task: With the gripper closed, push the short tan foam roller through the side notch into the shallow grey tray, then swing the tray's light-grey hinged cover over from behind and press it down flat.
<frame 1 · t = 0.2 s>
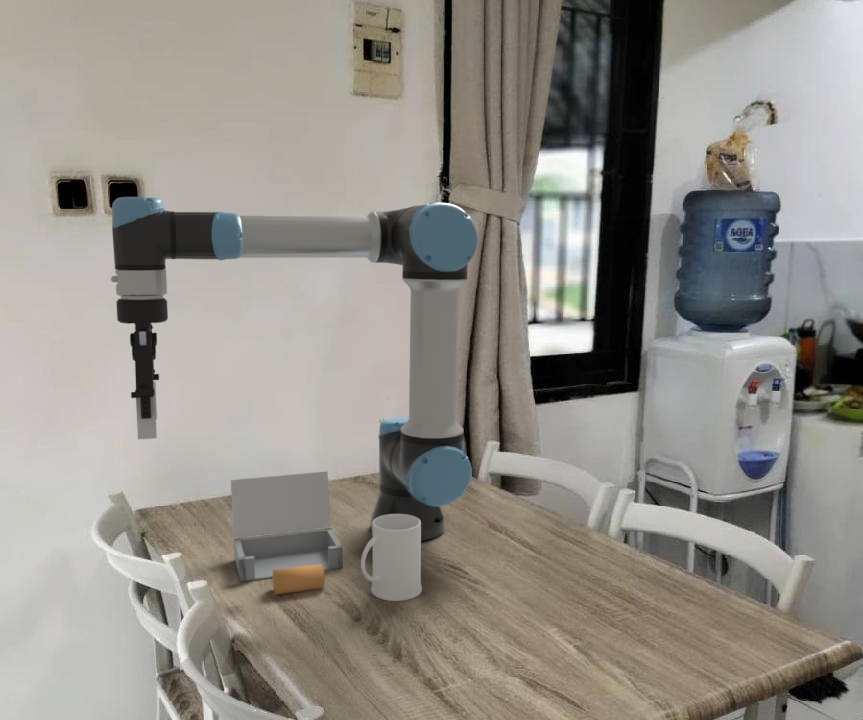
hand: (148, 428, 124), 28 cm above the table, fingers open, 13 cm apart
shallow grey tray: (288, 564, 139), on the table
tan foam roller: (298, 579, 129), point 2 cm above the table
mug: (388, 593, 128), on the table
lid: (281, 503, 144), point 9 cm above the table, hinge at 105.0°
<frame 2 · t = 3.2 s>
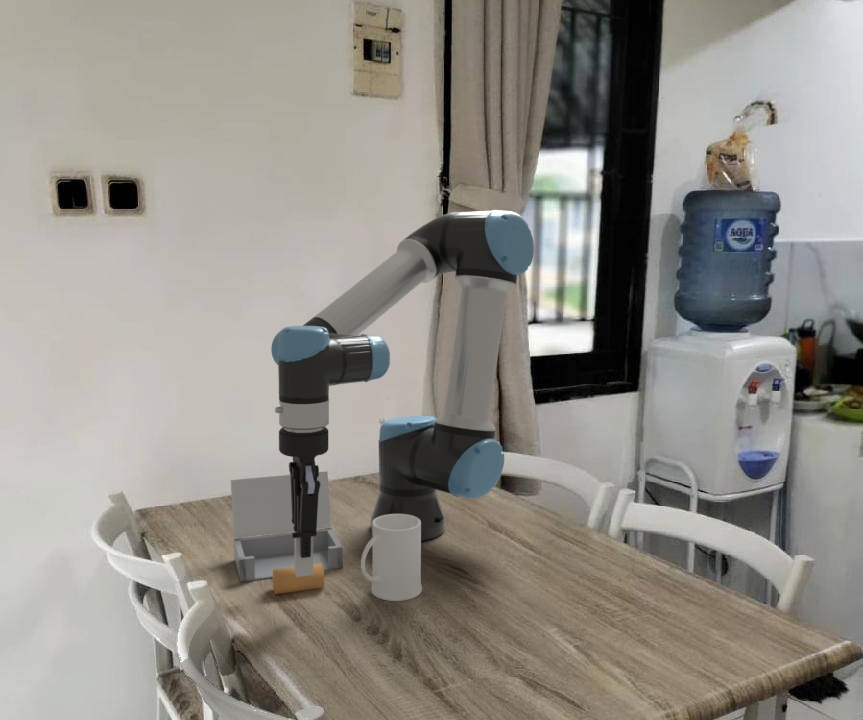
hand: (303, 573, 121), 6 cm above the table, fingers closed
nothing on the table moved.
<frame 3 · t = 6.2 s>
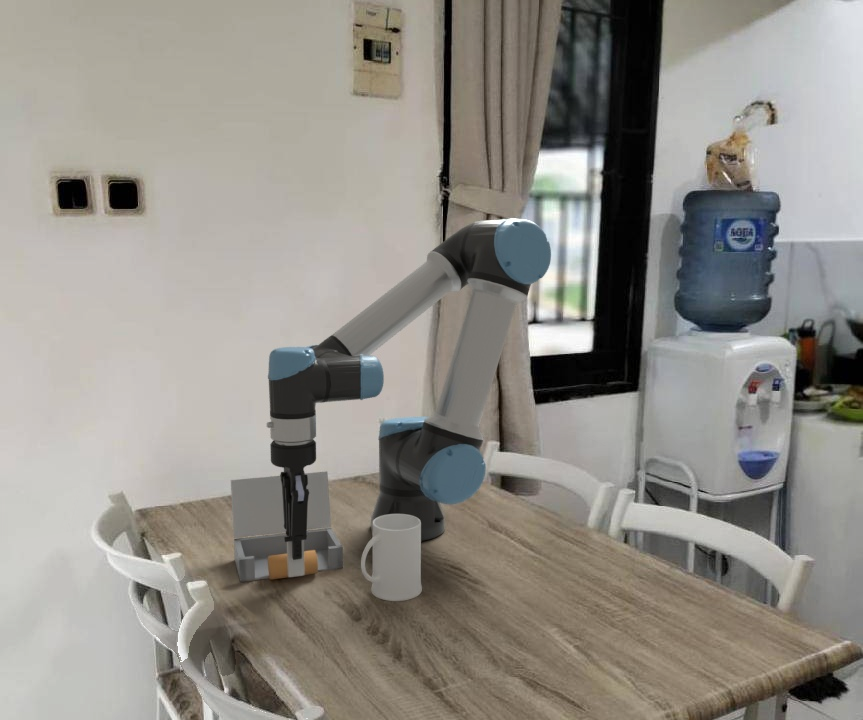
hand: (296, 574, 131), 1 cm above the table, fingers closed
tan foam roller: (292, 564, 134), point 2 cm above the table, tilted 149°, touching shallow grey tray, gripper
everything else where it was.
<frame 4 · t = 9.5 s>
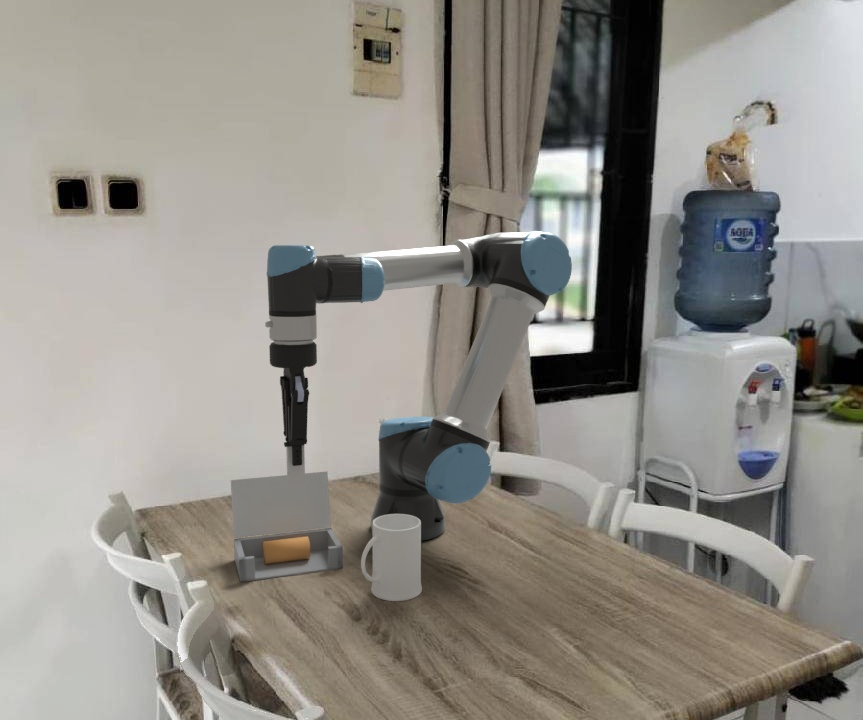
hand: (296, 482, 127), 18 cm above the table, fingers closed
tan foam roller: (286, 550, 140), point 2 cm above the table, tilted 22°, touching shallow grey tray
everything else where it was.
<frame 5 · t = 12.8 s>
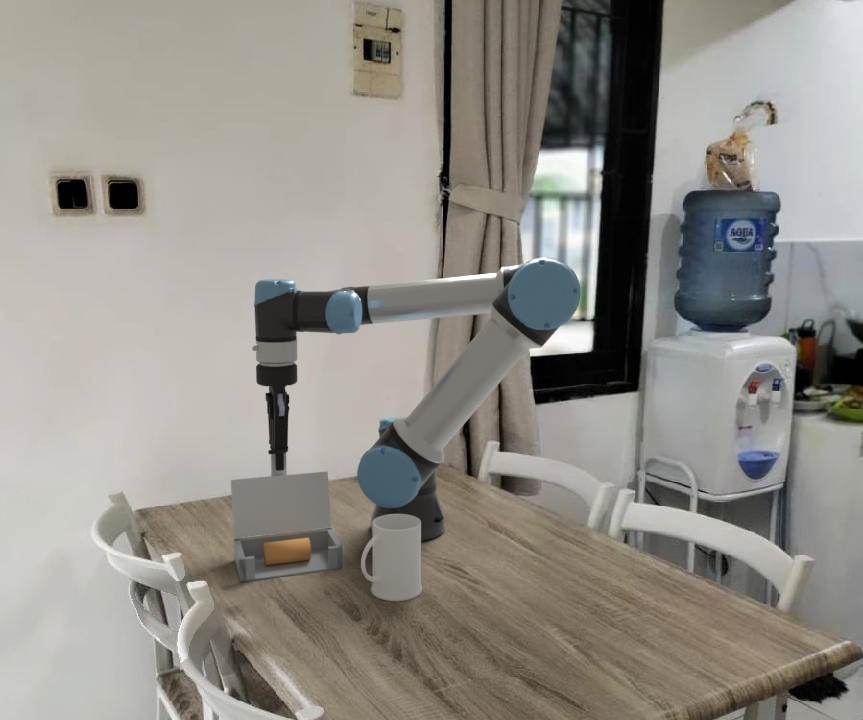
hand: (279, 485, 146), 12 cm above the table, fingers closed
tan foam roller: (287, 551, 139), point 2 cm above the table, tilted 40°, touching shallow grey tray
lid: (281, 503, 144), point 9 cm above the table, hinge at 104.0°, touching gripper
everything else where it was.
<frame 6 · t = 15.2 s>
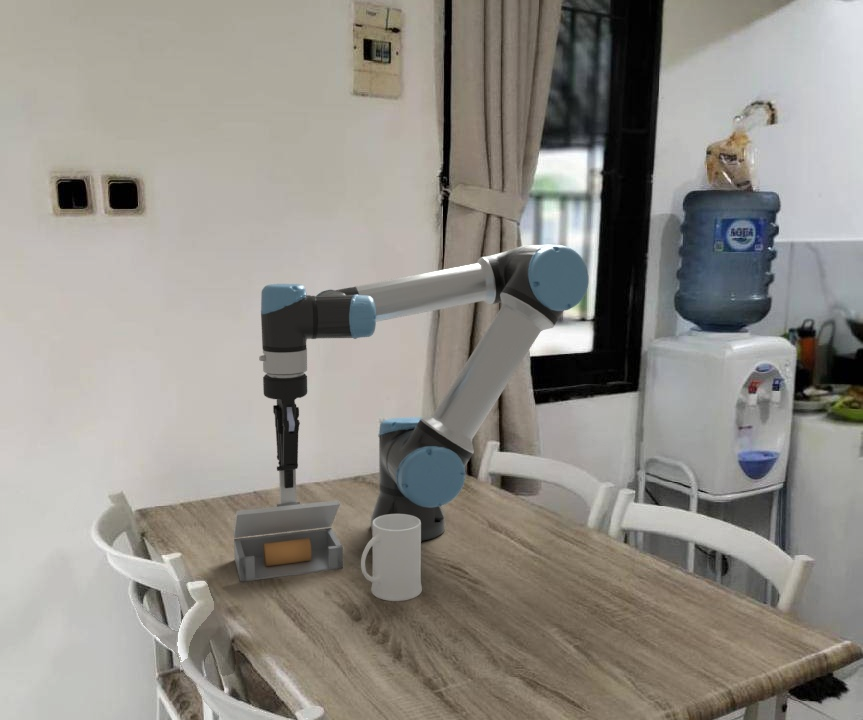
hand: (288, 503, 137), 12 cm above the table, fingers closed
tan foam roller: (287, 552, 139), point 2 cm above the table, tilted 50°, touching shallow grey tray
lid: (286, 517, 139), point 8 cm above the table, hinge at 41.9°, touching gripper
everything else where it was.
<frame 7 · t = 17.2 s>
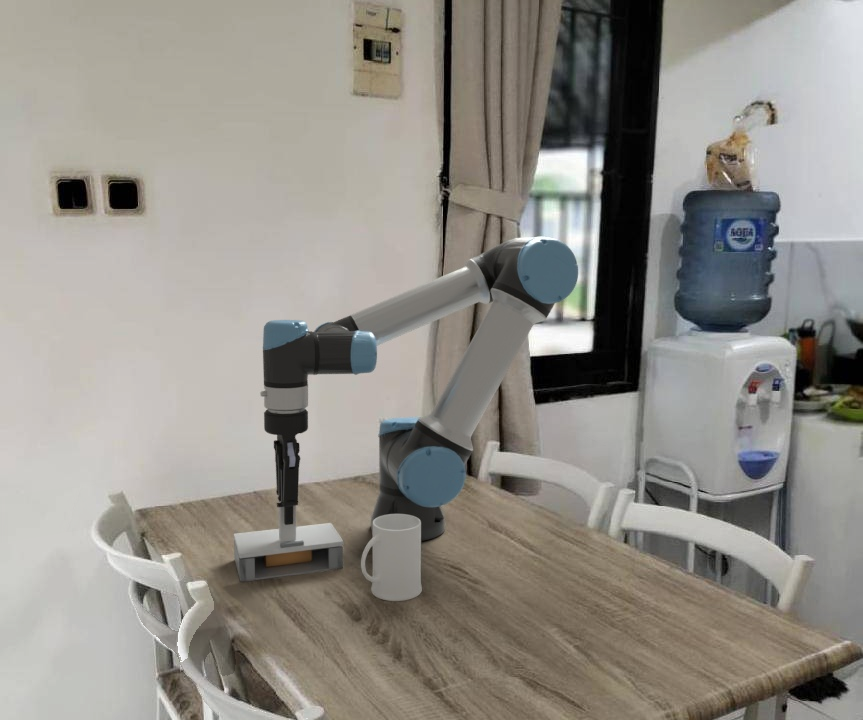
hand: (287, 539, 137), 5 cm above the table, fingers closed, pressing on lid
tan foam roller: (287, 553, 138), point 2 cm above the table, tilted 62°, touching shallow grey tray
lid: (287, 538, 138), point 5 cm above the table, hinge at 1.4°, touching gripper
everything else where it was.
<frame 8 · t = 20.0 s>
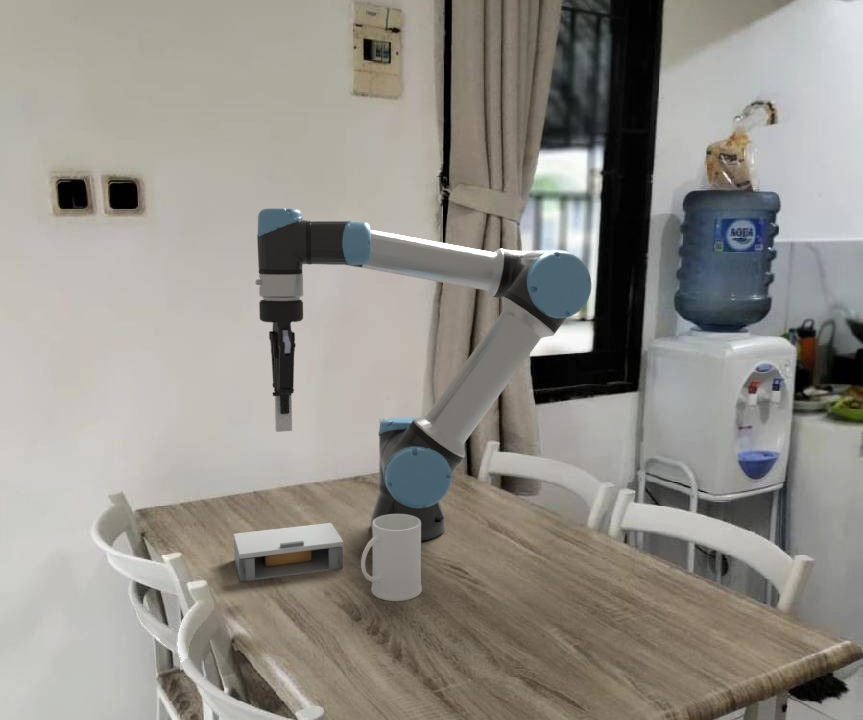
hand: (283, 430, 137), 24 cm above the table, fingers closed
tan foam roller: (287, 552, 139), point 2 cm above the table, tilted 54°, touching shallow grey tray
lid: (287, 538, 138), point 5 cm above the table, hinge at 1.0°
everything else where it was.
at the end: lid at +1° (first picture: +105°); tan foam roller inside the target area on the shallow grey tray (0.2 cm from its centre), point 2.3 cm above the shallow grey tray's base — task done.
